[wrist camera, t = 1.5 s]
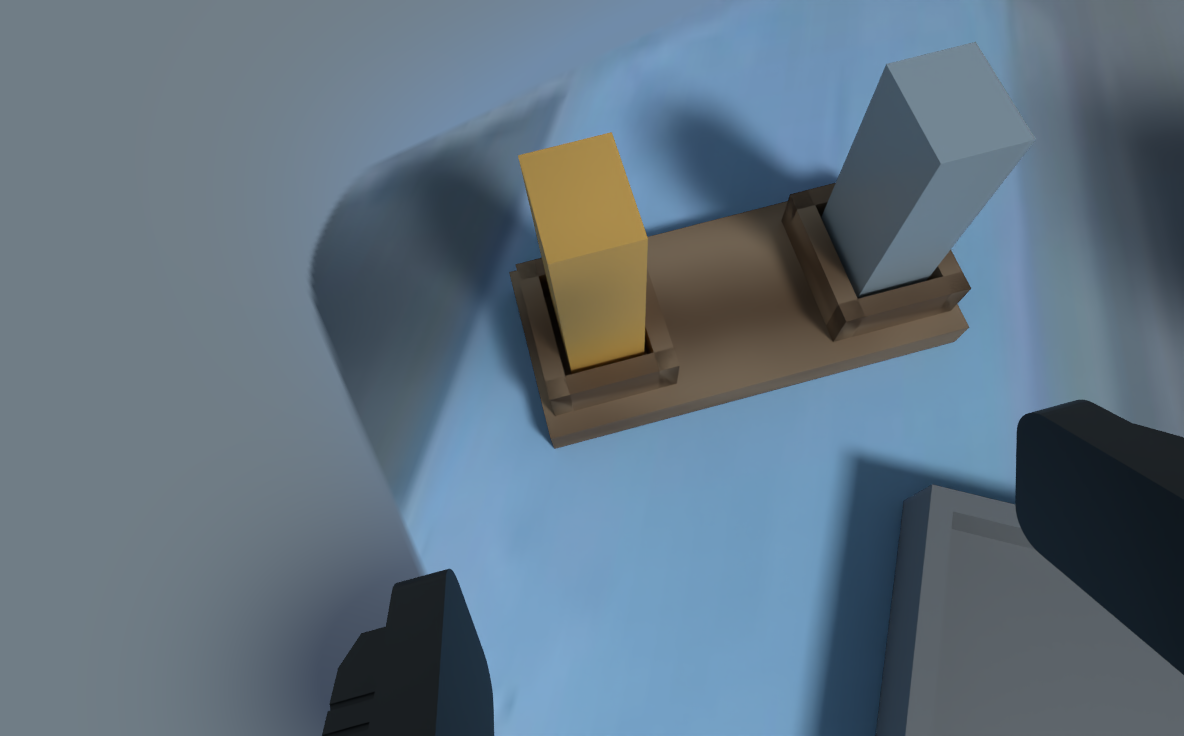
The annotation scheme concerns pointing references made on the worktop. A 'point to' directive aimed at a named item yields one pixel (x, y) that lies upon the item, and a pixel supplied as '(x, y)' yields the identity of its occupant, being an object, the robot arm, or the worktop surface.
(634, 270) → the yellow rectangular block
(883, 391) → the worktop surface
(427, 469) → the worktop surface
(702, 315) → the block
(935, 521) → the tray
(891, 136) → the block
